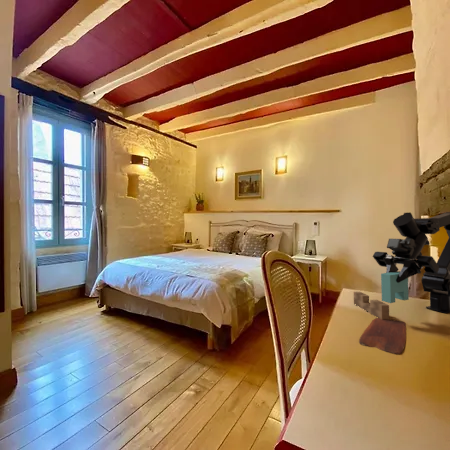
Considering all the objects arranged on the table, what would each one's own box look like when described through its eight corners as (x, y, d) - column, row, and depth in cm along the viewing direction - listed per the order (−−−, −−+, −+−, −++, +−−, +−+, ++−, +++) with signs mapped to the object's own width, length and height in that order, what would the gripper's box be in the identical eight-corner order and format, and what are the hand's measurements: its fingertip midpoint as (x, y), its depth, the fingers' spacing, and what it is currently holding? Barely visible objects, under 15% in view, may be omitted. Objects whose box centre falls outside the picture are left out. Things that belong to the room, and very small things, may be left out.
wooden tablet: (402, 358, 61) (402, 351, 61) (357, 346, 68) (357, 340, 68) (409, 324, 82) (409, 319, 82) (374, 317, 88) (374, 313, 88)
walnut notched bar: (353, 303, 102) (353, 291, 102) (359, 303, 102) (359, 291, 102) (381, 320, 84) (381, 305, 84) (389, 320, 84) (389, 305, 84)
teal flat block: (399, 297, 87) (398, 271, 87) (408, 299, 84) (407, 272, 84) (381, 300, 83) (381, 273, 83) (390, 303, 80) (390, 275, 81)
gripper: (375, 229, 94) (354, 261, 90) (432, 230, 77) (410, 269, 72) (389, 249, 97) (370, 281, 93) (448, 254, 80) (427, 293, 75)
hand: (391, 280), depth 83 cm, fingers closed on teal flat block, 3 cm apart
